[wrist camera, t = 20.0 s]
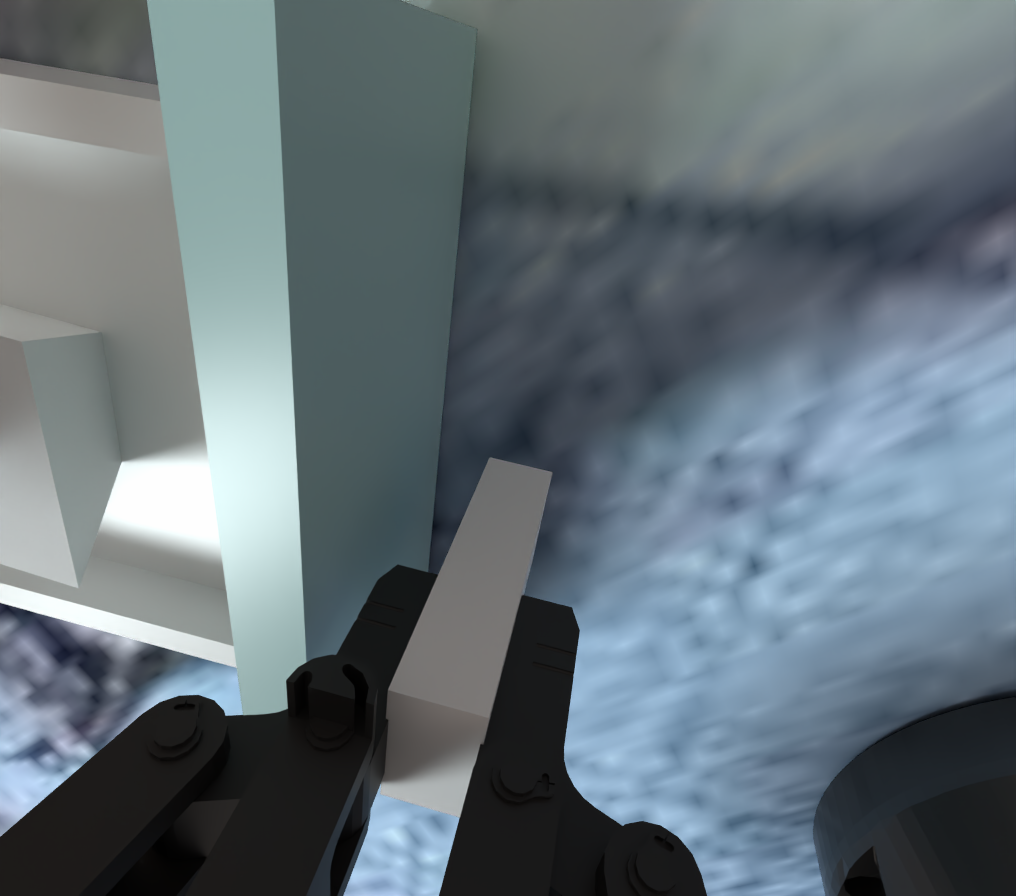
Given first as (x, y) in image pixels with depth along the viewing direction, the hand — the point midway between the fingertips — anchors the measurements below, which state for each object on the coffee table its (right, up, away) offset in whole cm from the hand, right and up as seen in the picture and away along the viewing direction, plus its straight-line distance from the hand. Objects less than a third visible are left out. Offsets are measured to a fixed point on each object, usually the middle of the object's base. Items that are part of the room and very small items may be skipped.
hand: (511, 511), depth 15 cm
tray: (-11, +4, +4) cm, 13 cm away
